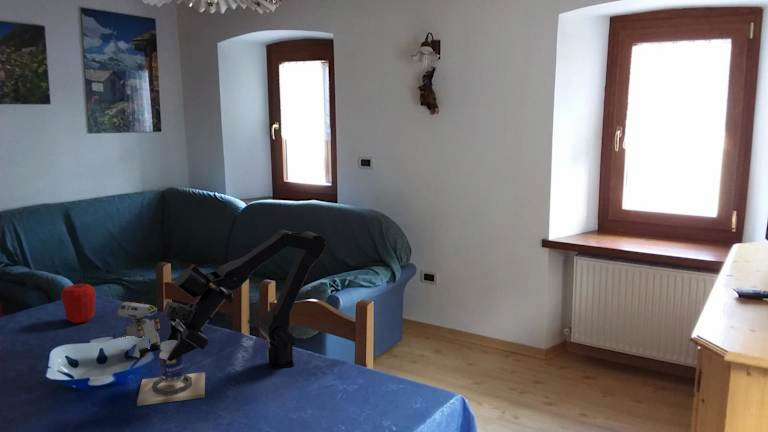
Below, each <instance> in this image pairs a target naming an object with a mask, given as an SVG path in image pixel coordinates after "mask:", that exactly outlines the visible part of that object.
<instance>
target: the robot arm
mask: <svg viewBox="0 0 768 432" xmlns="http://www.w3.org/2000/svg"><path fill="white" fill-rule="evenodd" d="M287 247H291V248H295V249H294V250H295V258H294V262H293V264H292V267H291V268H290V271H289V273H288V275H287V278H286V280H285V282H284V285H283V287H282V289H281V292H280V294H279V295H278V298H277V300H276V303H275V305H274V306H273V307H272V308H271V309H270V310H268V309H267V308H265V309H264V311H263V314H262V317H261V319H260V320H259V321H258V322H259V330H260V333H261V334H262V335H263V336H264V337H265V338H266V339H267V340H268V347H267V348H266V349H267V350H266V351H267V363H268V364H269V366H270V369H278V368H287V367H294V366H295V362H294V353H293V349H294V346H295V344H296V341H297V338H296V337H295V336H293V335H292V334H291V333H290V332H289V329H290V326H291V312H292V309H293V308H294V305H295V303H296V301H297V298H298V296H299V294H300V292H301V289H302V287H303V285H304V284H305V283H304V282H305V280H306V278H307V275H308V274H309V271H310V269H311V267H312V266H313V265H314V264H315V263H316V262H318V261H319V259H320V258H321V256H322V255H323V253H324V251H325V250H326V248H327V243H326V240H325V238H324V237H323V236H321V235H319V234H316V233H314V232H312V231H304V232H302V233H300V232H297V231H296V232H295V231H287V230H284V229H281V230H279V231H277V232H276V234H274V235H272V236H271V237H270V238H269V239H267V240H266V241H264V242H262V243H261V244H260V245H258V246H257V247H256V248H254V249H253V250H251V251H250V252H249V253H247V254H245V255H244V256H242V257H240V258H237V259H234V260H231V261H229V262H227V263H224V264H222V265H221V266H219V267H218V268H217V269H215V270H212V271H209V272H206V273H204V272H203V271H201V269H199V268H198V267H197V266H196V265H195V264H191V265H190V266H189V267H188V268H186V269H184V270H183V271H181V272H180V273H179V274H178V275H177V277H176V279H175V281H174V286H176V287H177V288H178V289H180V291H182V292H184V293H186V294H187V295H188V296H189V297H191V298H193V299H194V298H197V299H196V300H195V302H193V301H191V302H189V303H188V304H187V305H185V304H182V303H177V302H174V301H170V300H168V301H166V302H165V305H164V309H163V310H162V314H163V315H164V316H165V317H166V318H167V319H168V320H169V321H168V328H169V331H168V335H167V336H166V339H165V341H169V340H176V341H178V342H177V343H176V345H175V346H174V348H173V350H172V351H171V353H170V354H169V356H168V358H167V360H168V361H170V362H171V361H173V360H174V359H176V358H178V357H180V356H182V355H186V354H188V353H190V352H192V351H194V350H198V349H200V350H202V351H205V349H206V348H207V347H208V345H209V339H208V338H207V337H206V336H205V335H204V334H203V333H204V330H203V328H204V327H205V326H206V324H207V323H208V322H213V320H214V317H213V315H215V313H216V312H217V311H218V309H219V308H220V307H221V306H222V304H223V303H224V302H225V301H227V302H228V303H229V304H233V303H234V301H233V300H234V299H233V293H232V292H233V291H236V290H239V288H241V287H242V285H244V283H246V282H247V281H248V280H249V278H250V276H251V274H252V273H254V271H256V270H257V269H258V268H260V267H261V266H262V265H264V264H265V263H267V262H268V261H269V260H271V259H272V258H273V257H275V256H276V255H278V254H279V253H281V252H282V251H283V250H285V249H286V248H287ZM210 284H212V285H213V286H214V287H213V286H211V285H210ZM223 288H224V289H226V290H227V291H225V290H224V289H223ZM231 291H232V292H231ZM161 351H162V350H161V349H160V352H161Z"/></svg>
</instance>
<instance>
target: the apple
mask: <svg viewBox="0 0 768 432" xmlns="http://www.w3.org/2000/svg"><path fill="white" fill-rule="evenodd" d="M61 301H62V305H63V310H64V313H65V318H66V320H68V321H69V322H71V323H72V324H74V325H75V324H76V325H77V324H82V323H85V322H88V321H89V320H91V318H92V317H93V316H94V315H95V311H96V291H95V288H94V287H93V286H92V285H91V284H88V283H77V282H76V283H75V284H72V285H67V286H65V287H63V289H62V291H61Z"/></svg>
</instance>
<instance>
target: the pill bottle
mask: <svg viewBox="0 0 768 432" xmlns="http://www.w3.org/2000/svg"><path fill="white" fill-rule="evenodd" d="M177 342H178V341H176V340H169V341H166V340H165V341H162V342H160V344H161V345H160V347H161V348H160V353H159V355H158V356H159V357H158V358H159V373H160V377H161V381H162V382H163V383H167V384H172V383H177V382H179V381H181V380H182V379H183V378H184V374H185V369H184V367H185V366H184V356H183V355H182V356H180V357H178V358H176V359H174V360H173V361H171V362H170V361H168V360H167V358H168V356H169V354H170V353H171V351H172V350H173V348H174V346H175V345H176V343H177ZM161 350H162V351H161Z"/></svg>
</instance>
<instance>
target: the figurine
mask: <svg viewBox="0 0 768 432" xmlns="http://www.w3.org/2000/svg"><path fill="white" fill-rule="evenodd" d="M157 310H158V308H157V307H156V306H155V305H151V304H145V302H144V301H142V302H140V303H137V302H132V301H131V302H130V301H125V302H122V303H121V304H120V306H119V308H118V310H117V316H119V317H124V318H131V320H132V322H131V323H130V324H128V325H126V326H125V327H126V332H127V333H126V334H124V335H122V336H121V337H120V338H122V337H126V336H135V337H137V338H142V337H143V336H144V337H145V336H146V337H147V338H148V339H149V343H150V344H151V347H152V349H154V350H155V349H156V350H159V349H161V347H160V345H161V338H160V336H159V333H158V331H160V330H161V325H160V320H159V319H158V318H157V317H156V316H153V315H154V314H156V313H157ZM145 316H147V317H148V316H149V317H150V316H153V317H150V319H148V318H145ZM153 318H155V320H154V319H153ZM113 338H114V339H115V340H116V339H117V338H118V337H117V336H116V335H115V333H113V334H112V339H113ZM151 347H150V348H151Z"/></svg>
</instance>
